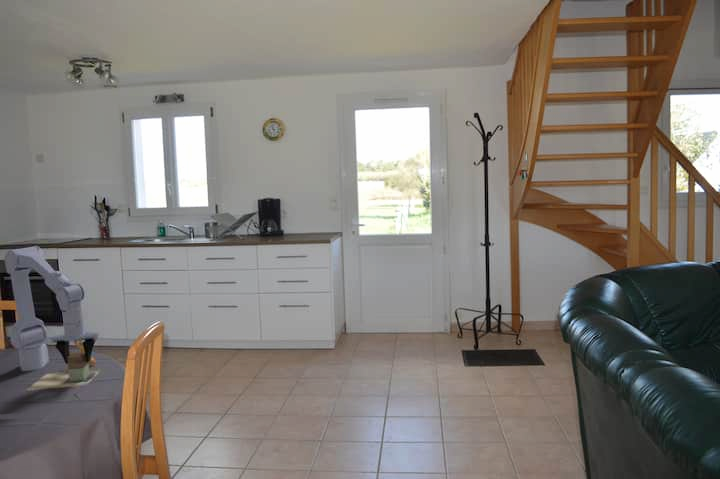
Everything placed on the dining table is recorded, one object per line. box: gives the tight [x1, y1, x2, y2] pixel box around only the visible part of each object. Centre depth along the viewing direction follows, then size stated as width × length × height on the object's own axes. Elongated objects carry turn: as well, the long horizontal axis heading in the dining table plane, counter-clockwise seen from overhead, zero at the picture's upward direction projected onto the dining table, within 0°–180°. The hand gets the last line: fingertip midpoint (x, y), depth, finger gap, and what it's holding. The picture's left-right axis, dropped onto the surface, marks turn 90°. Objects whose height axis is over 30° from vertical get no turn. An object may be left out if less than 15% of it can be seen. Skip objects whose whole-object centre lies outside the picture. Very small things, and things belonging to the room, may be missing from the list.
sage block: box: [67, 364, 90, 381], centre depth 177 cm, size 4×4×4 cm
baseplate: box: [26, 368, 103, 391], centre depth 177 cm, size 14×18×1 cm
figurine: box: [73, 340, 97, 368], centre depth 188 cm, size 8×6×12 cm
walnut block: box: [67, 351, 88, 370], centre depth 177 cm, size 4×4×4 cm
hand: (78, 361), depth 177 cm, fingers open, 6 cm apart
